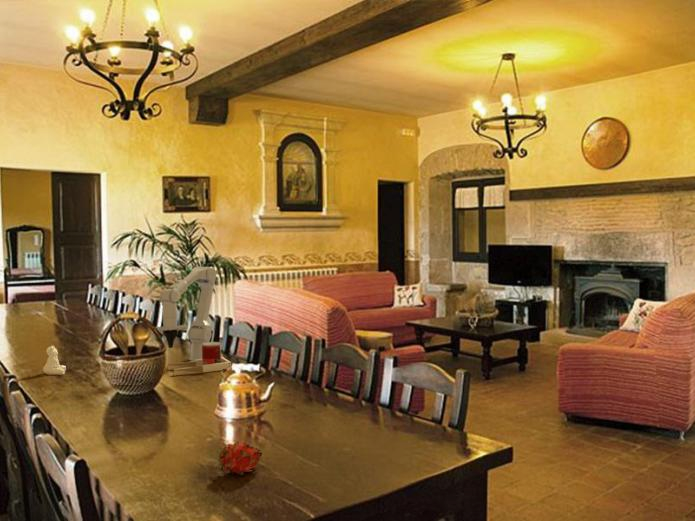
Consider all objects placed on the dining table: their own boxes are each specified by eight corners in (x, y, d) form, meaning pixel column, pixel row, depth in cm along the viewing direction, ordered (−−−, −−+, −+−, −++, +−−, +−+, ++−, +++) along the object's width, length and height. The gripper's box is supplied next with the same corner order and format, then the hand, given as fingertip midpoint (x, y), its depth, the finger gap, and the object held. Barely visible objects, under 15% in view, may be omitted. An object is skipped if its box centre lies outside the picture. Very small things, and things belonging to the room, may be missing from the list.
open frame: (195, 366, 269) (195, 359, 269) (222, 363, 275) (222, 356, 275) (203, 372, 258) (202, 365, 257) (231, 369, 264) (231, 362, 263)
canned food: (218, 370, 262) (218, 345, 261) (200, 370, 262) (200, 345, 261) (222, 365, 270) (222, 341, 269) (204, 366, 269) (204, 341, 269)
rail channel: (167, 369, 263) (167, 363, 263) (195, 366, 269) (195, 360, 269) (174, 375, 252) (174, 369, 252) (203, 372, 258) (202, 366, 257)
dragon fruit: (214, 483, 149) (258, 479, 155) (227, 472, 143) (272, 468, 150) (210, 449, 153) (253, 446, 160) (222, 437, 148) (266, 435, 154)
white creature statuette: (64, 374, 255) (63, 346, 254) (42, 376, 251) (41, 348, 251) (66, 369, 263) (65, 342, 263) (44, 371, 260) (43, 344, 260)
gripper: (154, 319, 254) (155, 350, 255) (188, 316, 261) (189, 347, 262) (151, 316, 260) (152, 347, 261) (185, 314, 267) (185, 344, 268)
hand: (170, 347), depth 262 cm, fingers closed
